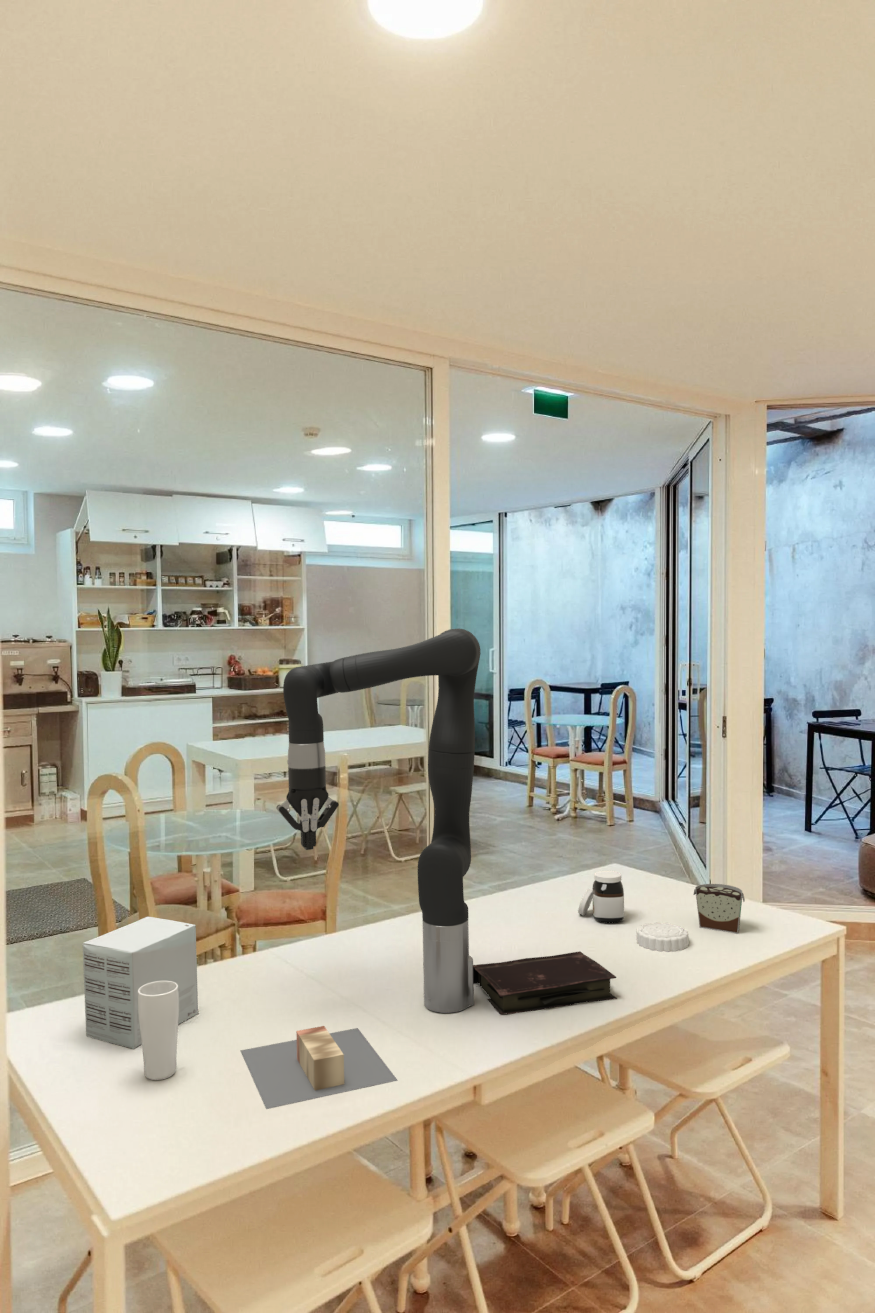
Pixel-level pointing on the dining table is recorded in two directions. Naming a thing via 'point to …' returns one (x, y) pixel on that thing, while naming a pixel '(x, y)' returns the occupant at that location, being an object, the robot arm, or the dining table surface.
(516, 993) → the diary
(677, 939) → the mooncake
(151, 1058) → the drinking glass
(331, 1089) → the rubber mat
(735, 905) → the food container
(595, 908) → the spread jar
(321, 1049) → the oak block
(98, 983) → the supplement box
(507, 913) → the dining table surface
